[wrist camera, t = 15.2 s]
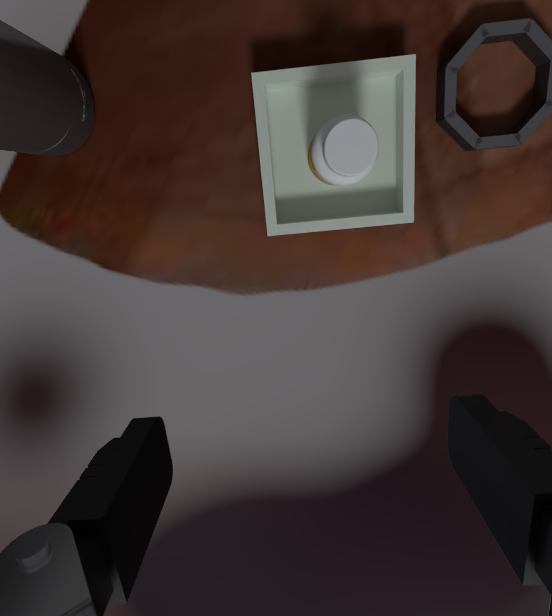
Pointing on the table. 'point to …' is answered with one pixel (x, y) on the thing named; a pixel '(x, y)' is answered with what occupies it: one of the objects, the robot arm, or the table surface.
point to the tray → (304, 125)
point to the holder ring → (547, 91)
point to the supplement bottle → (343, 150)
